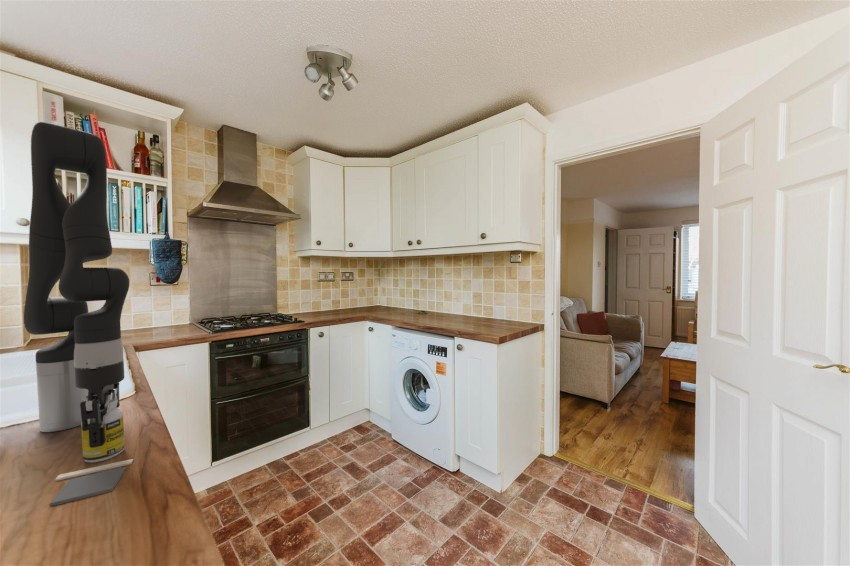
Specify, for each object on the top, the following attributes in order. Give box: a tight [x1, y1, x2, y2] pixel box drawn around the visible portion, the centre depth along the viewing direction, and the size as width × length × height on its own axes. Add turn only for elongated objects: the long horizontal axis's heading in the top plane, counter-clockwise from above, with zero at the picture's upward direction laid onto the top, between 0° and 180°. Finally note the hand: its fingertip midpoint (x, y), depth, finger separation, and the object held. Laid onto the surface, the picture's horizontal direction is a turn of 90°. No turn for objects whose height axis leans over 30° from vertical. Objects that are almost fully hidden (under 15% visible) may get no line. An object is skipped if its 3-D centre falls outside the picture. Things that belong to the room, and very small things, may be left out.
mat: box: [49, 466, 126, 507], centre depth 62 cm, size 8×8×1 cm
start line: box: [54, 458, 134, 482], centre depth 67 cm, size 2×11×1 cm, turn 119°
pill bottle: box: [80, 398, 125, 463], centre depth 72 cm, size 6×6×12 cm
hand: (103, 438), depth 72 cm, fingers closed on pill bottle, 6 cm apart
